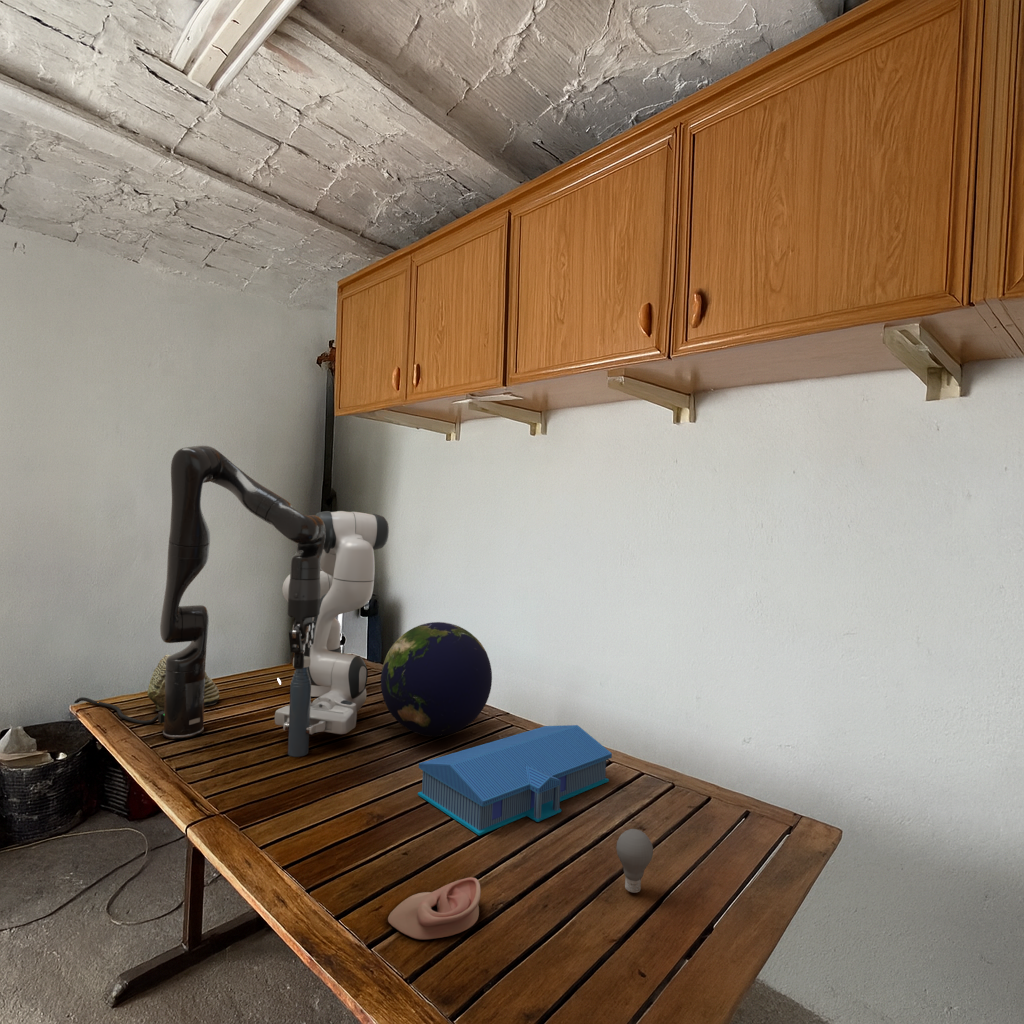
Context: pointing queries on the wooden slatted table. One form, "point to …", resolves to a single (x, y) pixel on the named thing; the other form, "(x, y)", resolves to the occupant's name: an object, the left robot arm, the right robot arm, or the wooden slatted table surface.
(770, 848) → the wooden slatted table surface
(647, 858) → the light bulb
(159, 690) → the fossil
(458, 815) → the model building
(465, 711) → the globe
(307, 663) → the cap
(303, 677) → the bottle
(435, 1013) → the wooden slatted table surface
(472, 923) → the anatomical model
